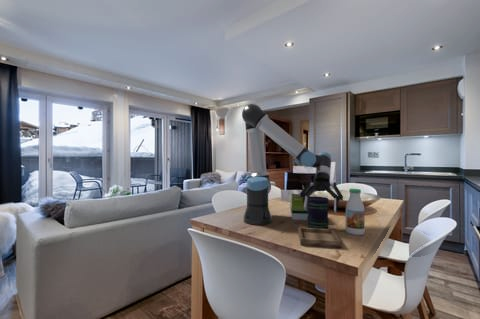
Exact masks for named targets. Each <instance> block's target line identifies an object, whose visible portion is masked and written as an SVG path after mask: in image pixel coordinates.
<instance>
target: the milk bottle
mask: <svg viewBox="0 0 480 319" xmlns="http://www.w3.org/2000/svg"><path fill="white" fill-rule="evenodd" d="M361 193H362V191H361V189H359V188H349V198H348V200H347V202H346V204H345V232H346V233H347V234H350V235H355V236H363V235H365V220H366V219H365V205H364V203H363V201H362V198H361Z"/></svg>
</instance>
